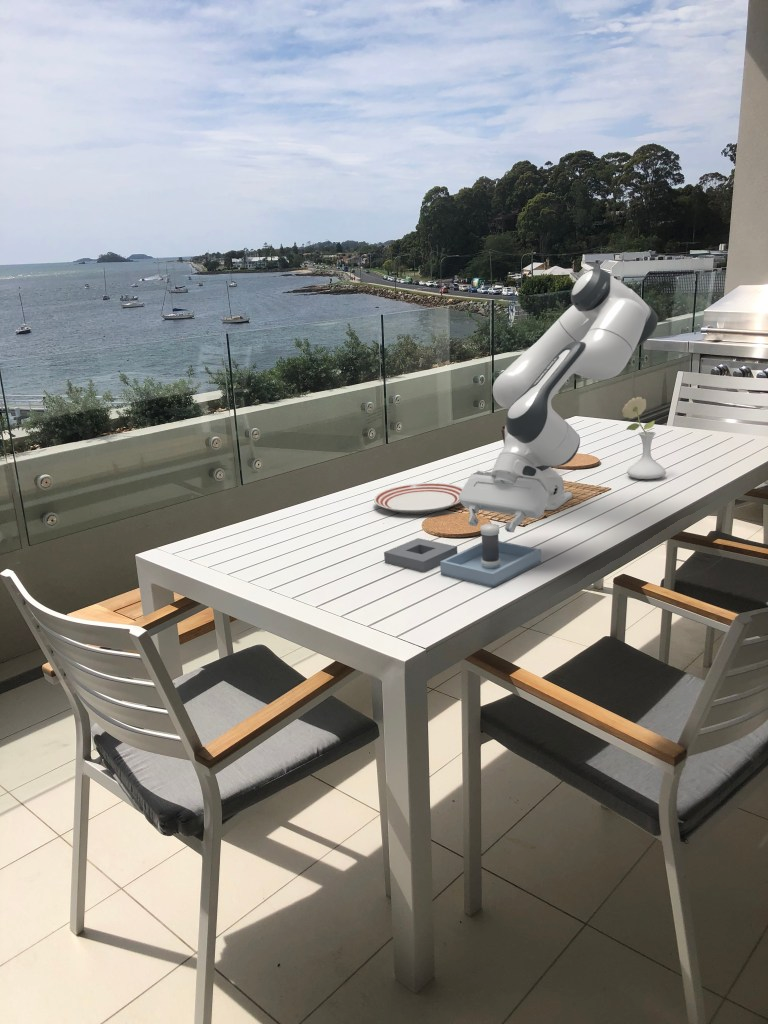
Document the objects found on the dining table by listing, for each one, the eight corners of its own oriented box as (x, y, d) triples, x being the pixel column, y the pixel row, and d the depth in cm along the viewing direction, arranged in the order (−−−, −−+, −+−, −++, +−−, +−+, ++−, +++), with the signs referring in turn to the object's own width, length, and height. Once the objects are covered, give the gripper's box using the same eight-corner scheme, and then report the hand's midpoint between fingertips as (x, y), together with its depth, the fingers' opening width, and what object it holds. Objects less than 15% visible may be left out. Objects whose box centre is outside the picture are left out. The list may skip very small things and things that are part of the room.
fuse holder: (418, 547, 184) (418, 538, 183) (457, 556, 176) (457, 546, 175) (384, 562, 176) (384, 552, 175) (424, 572, 168) (423, 561, 167)
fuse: (488, 561, 170) (487, 522, 167) (503, 564, 167) (502, 525, 165) (477, 566, 167) (476, 527, 165) (492, 569, 164) (491, 530, 162)
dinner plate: (463, 518, 206) (462, 506, 205) (365, 519, 212) (364, 508, 211) (472, 492, 232) (472, 481, 231) (384, 494, 237) (384, 483, 236)
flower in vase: (660, 472, 237) (662, 392, 231) (670, 481, 227) (672, 397, 220) (617, 474, 239) (618, 395, 232) (625, 483, 228) (626, 400, 221)
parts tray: (489, 551, 178) (489, 539, 177) (540, 562, 169) (540, 549, 168) (440, 574, 166) (440, 561, 165) (493, 587, 156) (492, 573, 156)
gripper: (467, 463, 175) (444, 514, 170) (547, 471, 162) (525, 527, 158) (478, 477, 179) (456, 528, 175) (557, 486, 167) (536, 541, 162)
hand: (490, 527), depth 166 cm, fingers open, 8 cm apart
